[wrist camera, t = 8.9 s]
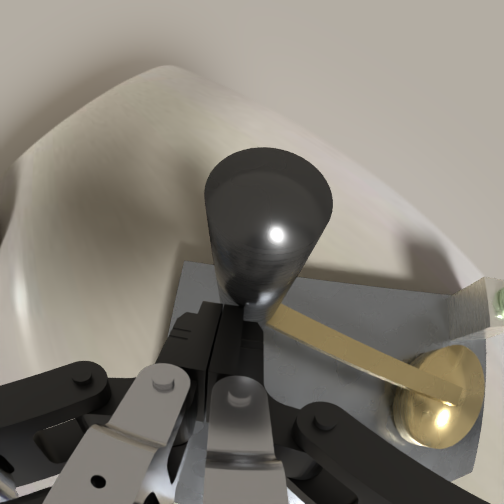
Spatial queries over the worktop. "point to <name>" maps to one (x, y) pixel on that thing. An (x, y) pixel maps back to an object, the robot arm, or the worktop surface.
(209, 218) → the black and gold lever
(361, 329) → the base
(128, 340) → the worktop surface
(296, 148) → the worktop surface
